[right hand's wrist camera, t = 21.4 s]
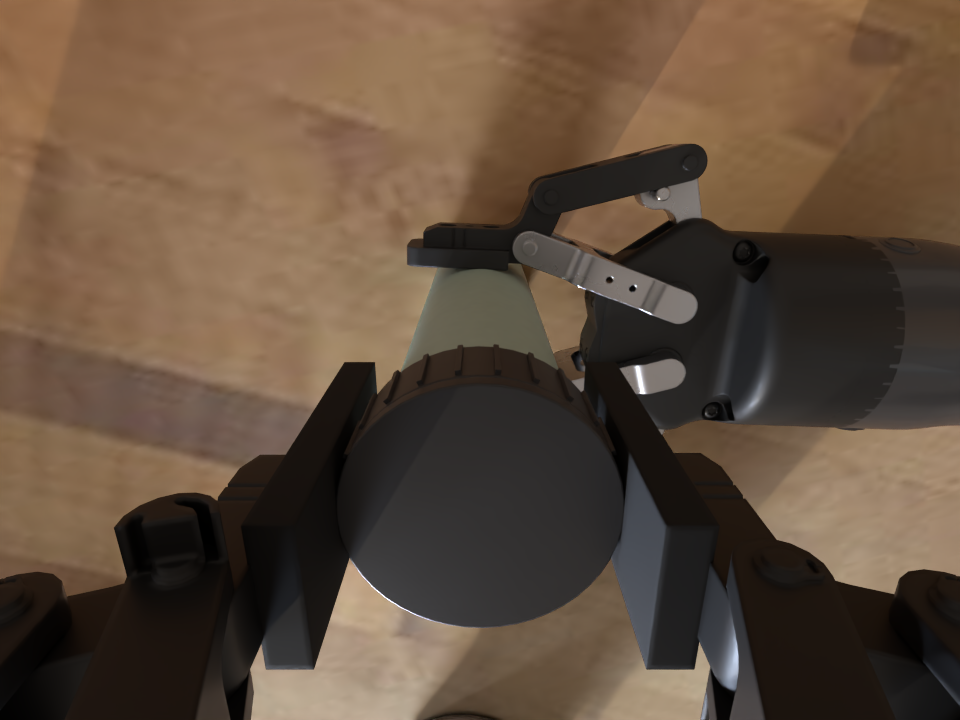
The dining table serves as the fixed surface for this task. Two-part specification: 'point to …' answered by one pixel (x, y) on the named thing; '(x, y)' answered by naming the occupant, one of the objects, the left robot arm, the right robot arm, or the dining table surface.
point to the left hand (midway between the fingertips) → (412, 316)
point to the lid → (480, 489)
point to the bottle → (480, 314)
